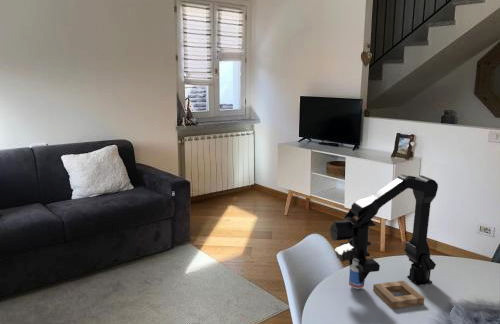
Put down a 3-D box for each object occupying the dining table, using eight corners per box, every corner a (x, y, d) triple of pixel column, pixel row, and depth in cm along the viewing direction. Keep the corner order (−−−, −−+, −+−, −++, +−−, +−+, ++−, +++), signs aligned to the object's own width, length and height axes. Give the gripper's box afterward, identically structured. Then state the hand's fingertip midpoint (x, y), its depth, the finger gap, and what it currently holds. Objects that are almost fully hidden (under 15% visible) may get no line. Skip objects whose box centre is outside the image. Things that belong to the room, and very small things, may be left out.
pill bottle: (364, 290, 152) (366, 264, 150) (348, 288, 153) (350, 262, 151) (363, 282, 158) (365, 257, 155) (348, 280, 159) (350, 256, 156)
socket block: (402, 286, 157) (403, 280, 157) (423, 304, 146) (424, 297, 145) (373, 290, 154) (373, 284, 154) (391, 308, 143) (392, 302, 142)
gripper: (327, 229, 158) (325, 269, 162) (351, 251, 141) (348, 294, 144) (355, 227, 161) (352, 266, 165) (382, 247, 143) (378, 290, 147)
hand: (356, 278), depth 155 cm, fingers closed on pill bottle, 5 cm apart
